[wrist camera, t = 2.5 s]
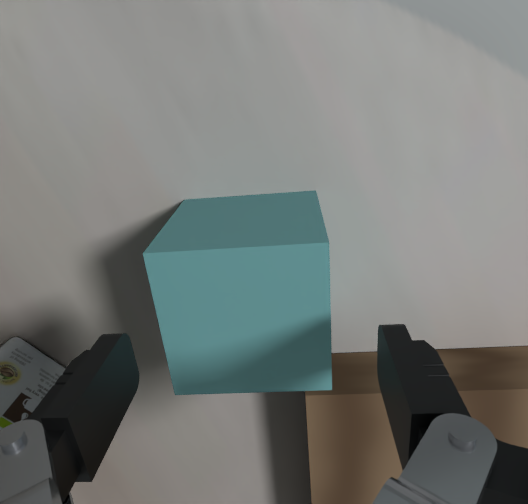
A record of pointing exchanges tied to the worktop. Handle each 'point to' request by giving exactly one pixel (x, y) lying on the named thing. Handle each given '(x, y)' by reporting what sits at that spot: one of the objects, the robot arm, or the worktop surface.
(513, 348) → the walnut stand
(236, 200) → the teal cube
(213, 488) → the worktop surface
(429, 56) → the worktop surface
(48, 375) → the coffee box
